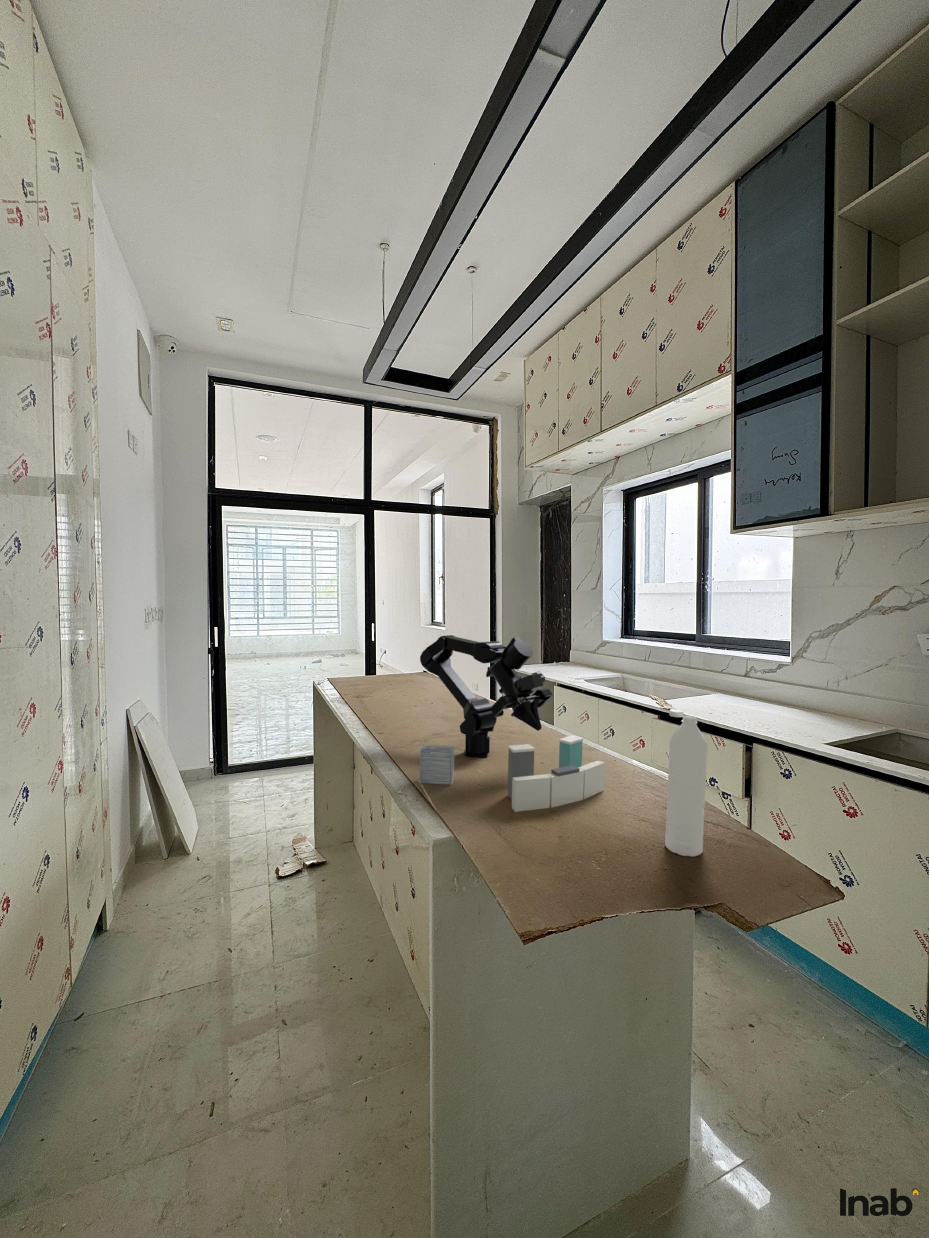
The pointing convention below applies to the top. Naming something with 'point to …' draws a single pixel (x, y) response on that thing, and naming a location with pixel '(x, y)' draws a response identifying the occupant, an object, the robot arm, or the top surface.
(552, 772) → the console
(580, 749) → the teal and white block
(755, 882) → the top surface
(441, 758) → the medicine box
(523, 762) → the grey and white block
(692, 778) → the water bottle
